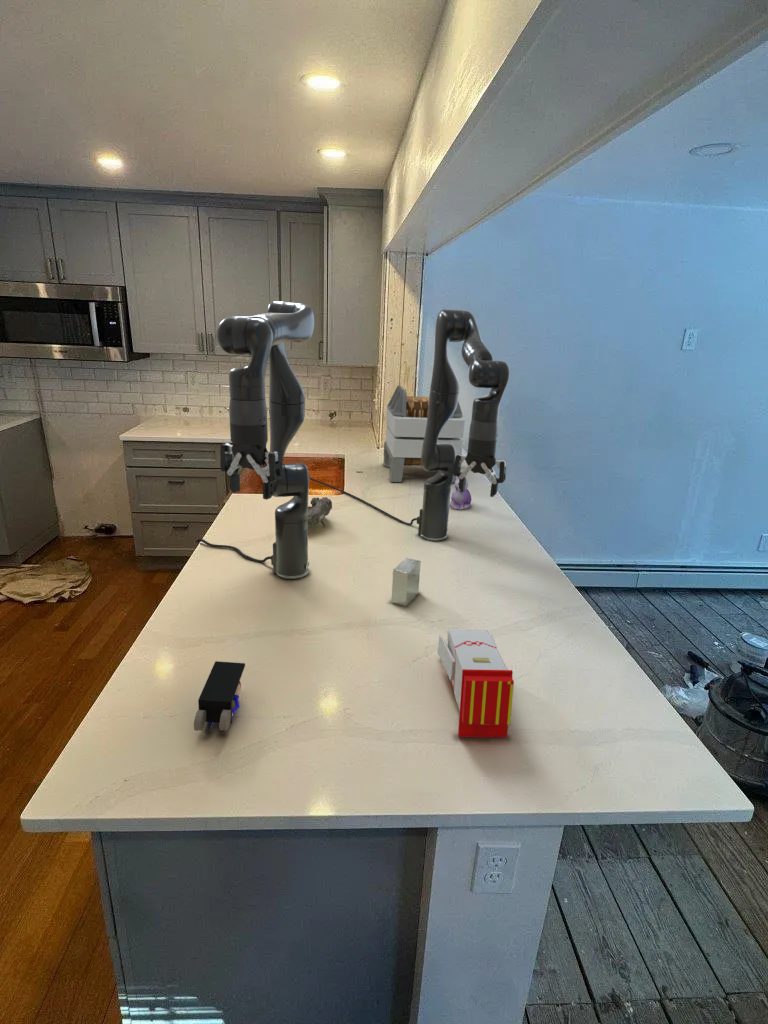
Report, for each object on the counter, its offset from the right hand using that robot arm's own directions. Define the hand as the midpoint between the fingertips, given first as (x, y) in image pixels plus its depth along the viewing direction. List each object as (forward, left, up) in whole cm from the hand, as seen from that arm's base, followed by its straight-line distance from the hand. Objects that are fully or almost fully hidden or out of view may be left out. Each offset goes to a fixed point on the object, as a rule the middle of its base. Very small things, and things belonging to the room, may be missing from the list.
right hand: (477, 493), depth 159 cm
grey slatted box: (-72, +88, -27) cm, 117 cm away
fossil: (-64, +3, -27) cm, 69 cm away
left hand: (-25, -60, +9) cm, 66 cm away
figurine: (-34, +58, -27) cm, 72 cm away
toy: (+24, -47, -27) cm, 59 cm away
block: (-9, -21, -27) cm, 35 cm away
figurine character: (-10, -83, -27) cm, 88 cm away
